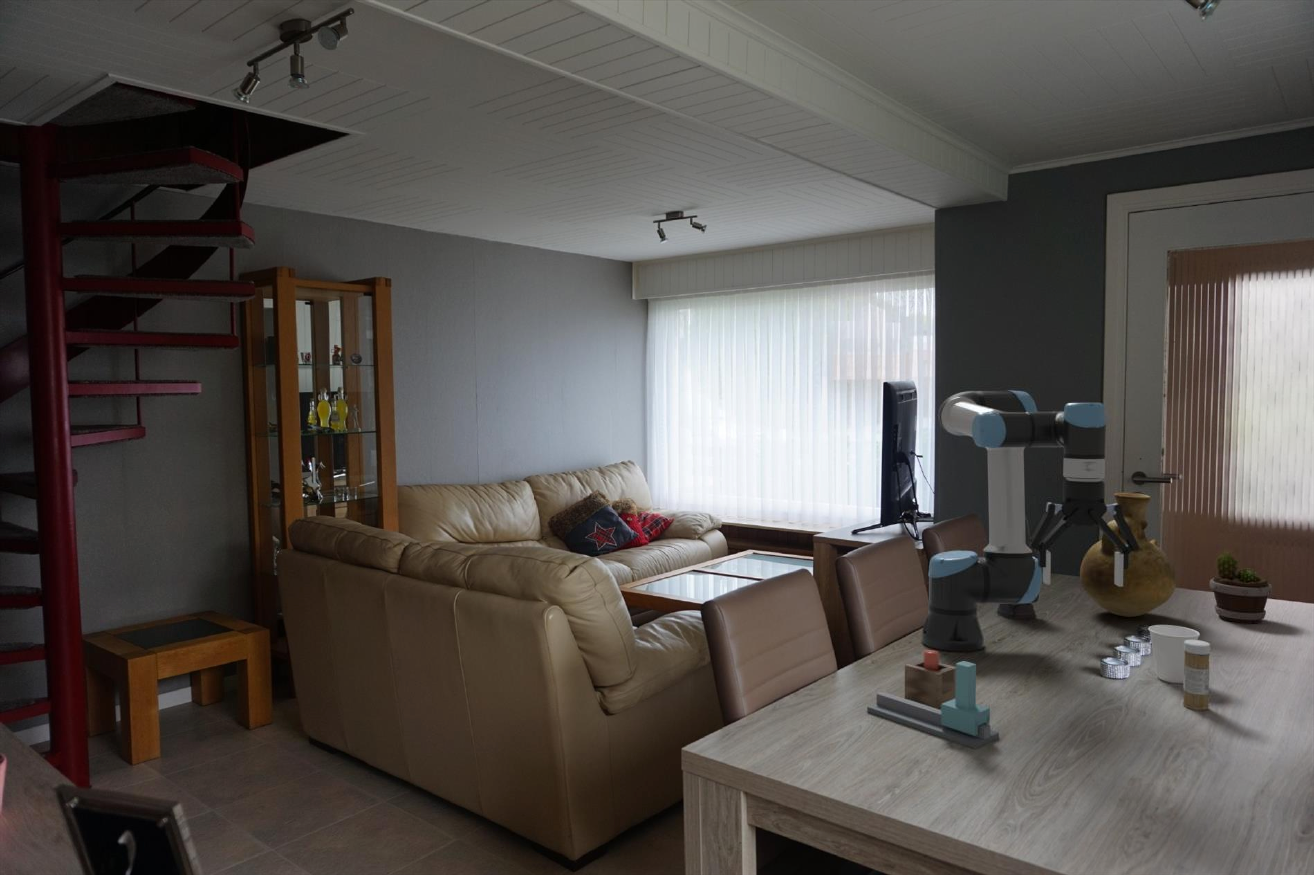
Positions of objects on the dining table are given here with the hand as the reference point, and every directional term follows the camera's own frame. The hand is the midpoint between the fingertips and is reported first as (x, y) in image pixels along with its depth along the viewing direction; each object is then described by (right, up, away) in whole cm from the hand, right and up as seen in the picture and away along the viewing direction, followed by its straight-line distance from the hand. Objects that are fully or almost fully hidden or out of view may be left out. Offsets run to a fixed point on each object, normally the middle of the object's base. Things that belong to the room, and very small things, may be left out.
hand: (1082, 584), depth 176 cm
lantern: (+18, -22, +76) cm, 81 cm away
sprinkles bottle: (+24, -25, +1) cm, 35 cm away
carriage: (-28, -25, -13) cm, 39 cm away
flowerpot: (+77, -22, +68) cm, 106 cm away
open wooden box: (-28, -25, +7) cm, 39 cm away
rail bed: (-33, -26, -7) cm, 42 cm away
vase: (+48, -22, +73) cm, 90 cm away
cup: (+29, -25, +18) cm, 42 cm away
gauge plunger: (-28, -20, +7) cm, 35 cm away
